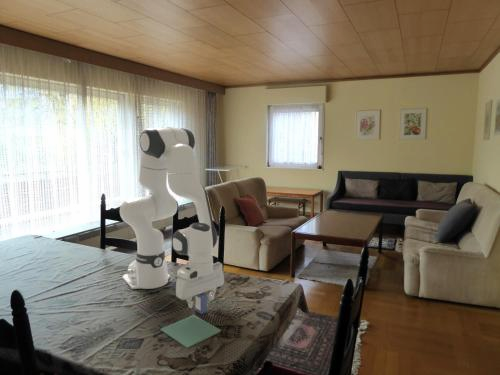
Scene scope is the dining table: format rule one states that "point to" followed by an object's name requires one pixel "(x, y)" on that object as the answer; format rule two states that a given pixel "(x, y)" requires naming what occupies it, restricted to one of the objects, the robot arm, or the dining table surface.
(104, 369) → the dining table surface
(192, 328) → the mat
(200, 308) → the block
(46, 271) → the dining table surface
